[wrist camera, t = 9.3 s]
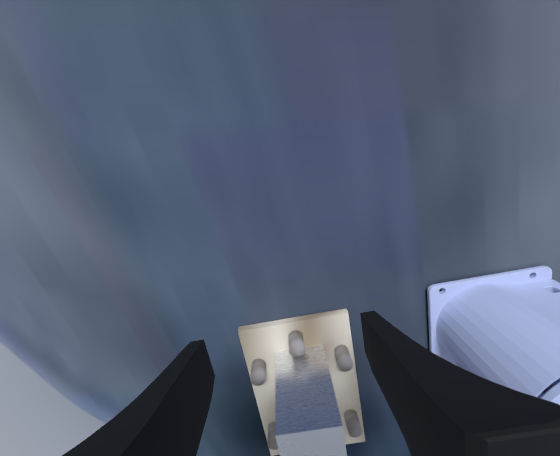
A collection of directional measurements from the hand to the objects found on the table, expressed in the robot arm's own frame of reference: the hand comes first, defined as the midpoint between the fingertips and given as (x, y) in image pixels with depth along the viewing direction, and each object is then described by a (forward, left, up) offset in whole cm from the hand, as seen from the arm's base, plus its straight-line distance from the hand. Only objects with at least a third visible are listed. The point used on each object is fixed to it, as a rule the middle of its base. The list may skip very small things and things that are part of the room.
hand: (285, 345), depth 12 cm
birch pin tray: (0, +12, -9) cm, 15 cm away
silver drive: (0, +12, -9) cm, 15 cm away
